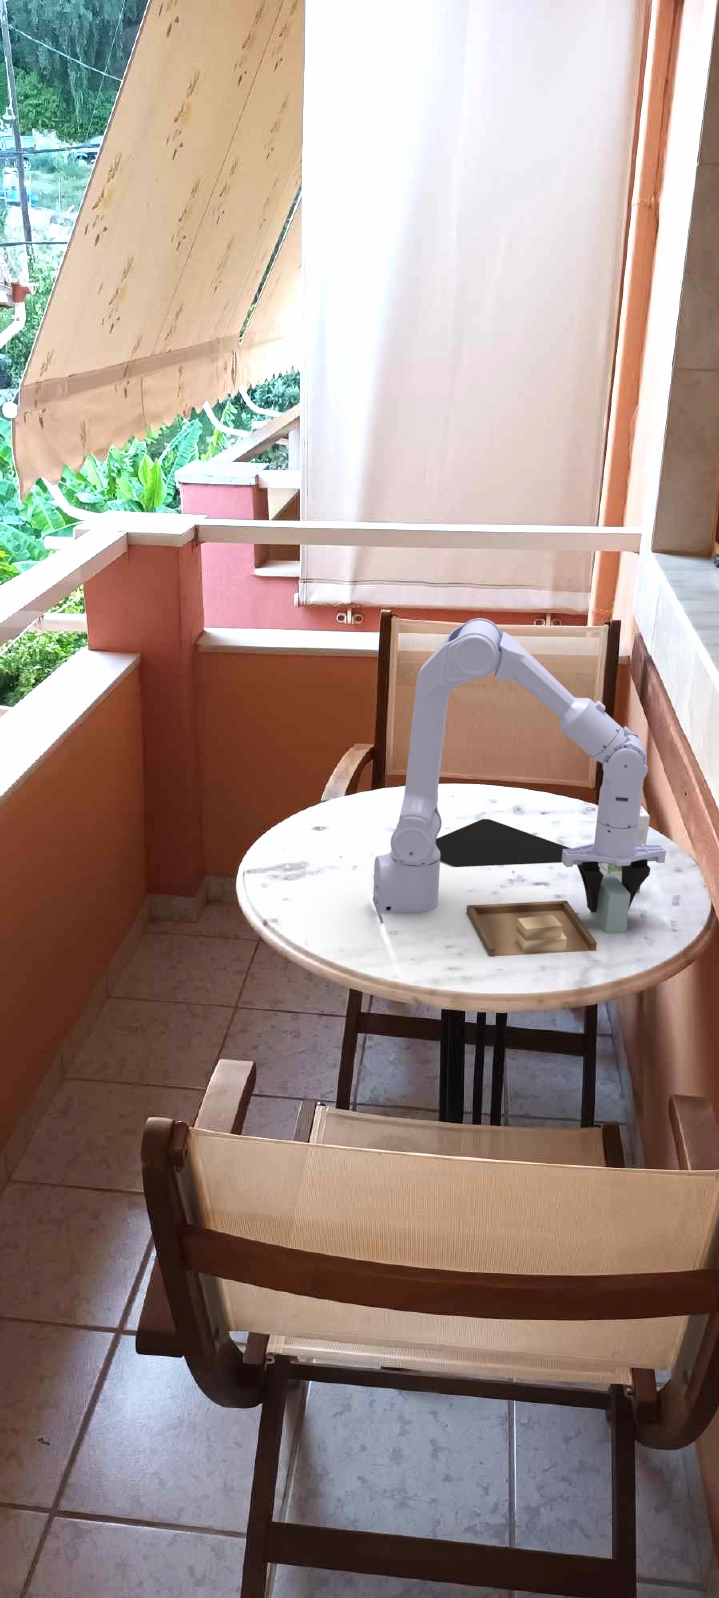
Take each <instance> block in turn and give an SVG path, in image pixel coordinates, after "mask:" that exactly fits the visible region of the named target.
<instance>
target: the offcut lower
mask: <svg viewBox="0 0 719 1598" xmlns="http://www.w3.org/2000/svg"><path fill="white" fill-rule="evenodd" d="M516 941H517V943H518V945H519V947H520V948H521V950H522V952H523V953H527V952H545V951H563V950H566V941H567V938H566V937H565V935H564V934H563V932H562V933H561V937H559V938H549V939H540V940H531V941H525V940H524V939H523V938H522V936H521V935H520V934H519V933H518V931H517V936H516Z"/></svg>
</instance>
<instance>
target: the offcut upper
mask: <svg viewBox="0 0 719 1598" xmlns="http://www.w3.org/2000/svg"><path fill="white" fill-rule="evenodd" d="M517 931H518V933H519V934H520V935H521V936H522V938H523V939H524V940H525V941H531V940H540V939H549V938H559V937H561V933H562V925H561V924H560V922H559V921H558V920H557V919H556V918H555V917H554V916H553V915H546V916H537V917H527V918H517Z"/></svg>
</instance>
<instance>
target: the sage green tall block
mask: <svg viewBox="0 0 719 1598" xmlns="http://www.w3.org/2000/svg"><path fill="white" fill-rule="evenodd" d="M630 895H631V894H630V893H629V892H628V891H627V890H626V888H625V887H624V886H623V885H622V884H621V882H620V881H619V880H618V879H617V878H616V876H615V875H604V876H603V879H602V882H601V885H600V889H599V895H598V907H597V911H596V912H593V913H592V912H591V911H590V910H589V911H590V912H589V913H590V914H591V916H592V917H593V918H594V920H595V921H596V923H597V924H598V925H599V927H600V928H601V929H602V931H603V932H604V933H605V934H618V933H619V934H621V933H626V932H627V927H628V919H629V911H630V908H629V903H630Z"/></svg>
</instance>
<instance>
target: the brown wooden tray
mask: <svg viewBox="0 0 719 1598" xmlns="http://www.w3.org/2000/svg"><path fill="white" fill-rule="evenodd" d="M466 914H467V916H468V918H469V920H470V923H471V924H472V926H473V928H474V930H475V931H476V934H477V936H478V937H479V939H480V942H481V943H482V945H483V947H484V948H485V950H486V953H487V955H488V956H489V957H502V956H504V957H505V956H506V957H507V956H519V955H520V956H521V955H539V954H540V955H541V954H542V955H543V954H554V953H555V954H558V953H575V952H576V953H577V952H591V951H592V952H594V951H597V945H598V942H597V941H596V940H595V938H594V937H593V935H592V934H591V933H590V931H589V930H588V929H587V927H586V925H585V924H584V923H583V921H582V920H581V918H580V917H579V916H578V914H577V913H576V912H575V910H574V909H573V907H572V906H571V905H570V903H569V901H568V900H551V901H550V900H549V901H533V902H532V901H530V902H527V901H526V902H510V903H509V902H508V903H507V902H506V903H491V904H490V903H489V904H488V903H487V904H468V905H466ZM546 915H553V916H554V917H555V918H556V919H557V920H558V921H559V922H560V924H561V925H562V932H563V934H564V935H565V937H566V938H567V941H566V950H563V951H545V952H527V953H523V952H522V950H521V948H520V947H519V945H518V943H517V941H516V936H517V918H527V917H537V916H546Z"/></svg>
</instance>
